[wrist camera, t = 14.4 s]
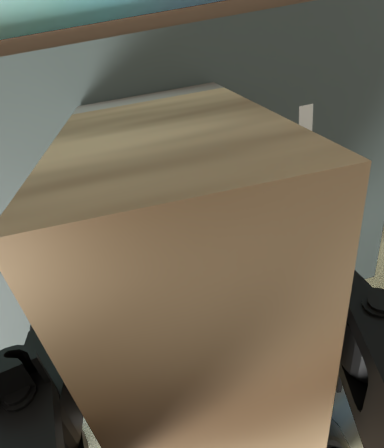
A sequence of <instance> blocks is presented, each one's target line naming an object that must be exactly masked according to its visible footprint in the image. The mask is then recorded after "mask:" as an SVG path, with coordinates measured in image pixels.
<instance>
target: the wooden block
mask: <svg viewBox="0 0 384 448" xmlns="http://www.w3.org/2000/svg"><path fill="white" fill-rule="evenodd" d="M371 162H372V161H371V160H369V159H367V158H365V157H363V156H361V155H359V154H357V153H355V152H353V151H351V150H349V149H347V148H345V147H343V146H341V145H339V144H337V143H335V142H333V141H331V140H329V139H327V138H325V137H323V136H321V135H319V134H317V133H315V132H313V131H311V130H309V129H307V128H305V127H303V126H301V125H299V124H297V123H295V122H293V121H291V120H289V119H287V118H285V117H283V116H281V115H279V114H277V113H275V112H273V111H271V110H269V109H267V108H265V107H263V106H261V105H259V104H257V103H255V102H253V101H251V100H249V99H247V98H244V97H242V96H240V95H238V94H236V93H234V92H232V91H230V90H228V89H226V88H224V87H222V86H220V85H218V84H216V83H214V82H211V83H206V84H200V85H194V86H189V87H183V88H177V89H172V90H166V91H160V92H155V93H149V94H143V95H138V96H132V97H127V98H121V99H115V100H110V101H104V102H98V103H93V104H87V105H81V106H78V107H77V108H76V109H75V111H74V112H73V114H72V115H71V117H70V118H69V119H68V121H67V122H66V124H65V125H64V126H63V128H62V129H61V131H60V132H59V134H58V135H57V136H56V138H55V139H54V141H53V142H52V143H51V145H50V146H49V148H48V149H47V151H46V152H45V153H44V155H43V156H42V158H41V159H40V160H39V162H38V163H37V165H36V166H35V168H34V169H33V170H32V172H31V173H30V175H29V176H28V177H27V179H26V180H25V182H24V183H23V185H22V186H21V187H20V189H19V190H18V192H17V193H16V194H15V196H14V197H13V199H12V200H11V201H10V203H9V204H8V206H7V207H6V209H5V210H4V211H3V213H2V214H1V216H0V272H1V274H2V275H3V277H4V279H5V281H6V282H7V284H8V286H9V288H10V289H11V291H12V293H13V294H14V296H15V298H16V300H17V301H18V303H19V305H20V307H21V308H22V310H23V312H24V314H25V315H26V317H27V319H28V321H29V322H30V324H31V326H32V328H33V329H34V331H35V333H36V335H37V336H38V338H39V340H40V342H41V343H42V345H43V347H44V349H45V350H46V352H47V354H48V356H49V357H50V359H51V361H52V362H53V364H54V366H55V368H56V369H57V371H58V373H59V375H60V376H61V378H62V380H63V382H64V383H65V385H66V387H67V389H68V390H69V392H70V394H71V396H72V397H73V399H74V401H75V403H76V404H77V406H78V408H79V410H80V411H81V413H82V415H83V417H84V418H85V420H86V422H87V423H88V425H89V427H90V429H91V430H92V432H93V434H94V436H95V437H96V439H97V441H98V443H99V444H100V446H101V448H327V442H328V435H329V429H330V423H331V416H332V410H333V404H334V397H335V391H336V385H337V378H338V372H339V365H340V359H341V353H342V346H343V340H344V334H345V327H346V321H347V315H348V308H349V302H350V296H351V289H352V283H353V276H354V270H355V264H356V257H357V251H358V245H359V238H360V232H361V226H362V219H363V213H364V206H365V200H366V194H367V187H368V181H369V175H370V168H371Z"/></svg>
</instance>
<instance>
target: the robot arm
mask: <svg viewBox="0 0 384 448" xmlns="http://www.w3.org/2000/svg"><path fill="white" fill-rule="evenodd" d="M342 385H343V388H344V391H345V394H346V396H347V399H348V402H349V405H350V408H351V411H352V414H353V417H354V420H355V423H356V426H357V429H358V432H359V435H360V438H361V441H362V444H363V447H364V448H384V289H381V288H372V287H371V286H370V285H369V284H368V283H367V282H366V281H365V280H364V278H363V277H362V276H361V275H360V274H359V273H358V272H357V271H356V270H354V276H353V283H352V289H351V296H350V302H349V308H348V315H347V321H346V327H345V334H344V340H343V346H342V353H341V359H340V365H339V372H338V378H337V385H336V390H337V392H341V390H342ZM82 423H83V415H82V413H81V411H80V410H79V408H78V406H77V404H76V403H75V401H74V399H73V397H72V396H71V394H70V392H69V390H68V389H67V387H66V385H65V383H64V382H63V380H62V378H61V376H60V375H59V373H58V371H57V369H56V368H55V366H54V364H53V362H52V361H51V359H50V357H49V356H48V354H47V352H46V350H45V349H44V347H43V345H42V343H41V342H40V340H39V338H38V336H37V335H36V333H35V331H34V329H33V328H32V326H31V325H30V331H28V334H27V337H26V340H25V343H24V345H14V346H10V347H7V348H4V349H2V350H0V448H88V441H87V439H86V436H85V434H84V432H83V430H82ZM327 448H350V446H349V444H348V443H347V441H346V439H345V437H344V435H343V433H342V432H341V430H340V428H339V426H338V425H337V424H336V423H335V422H334V421H333V420H332V419H331V423H330V429H329V435H328V442H327Z"/></svg>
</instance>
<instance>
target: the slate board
mask: <svg viewBox="0 0 384 448" xmlns="http://www.w3.org/2000/svg"><path fill="white" fill-rule="evenodd" d="M211 82H214V83H216V84H218V85H220V86H222V87H224V88H226V89H228V90H230V91H232V92H234V93H236V94H238V95H240V96H242V97H244V98H247V99H249V100H251V101H253V102H255V103H257V104H259V105H261V106H263V107H265V108H267V109H269V110H271V111H273V112H275V113H277V114H279V115H281V116H283V117H285V118H287V119H289V120H291V121H293V122H295V123H297V124H299V125H301V126H303V127H305V128H307V129H309V130H311V131H313V132H315V133H317V134H319V135H321V136H323V137H325V138H327V139H329V140H331V141H333V142H335V143H337V144H339V145H341V146H343V147H345V148H347V149H349V150H351V151H353V152H355V153H357V154H359V155H361V156H363V157H365V158H367V159H369V160H371V161H372V162H371V168H370V175H369V181H368V187H367V194H366V200H365V206H364V213H363V219H362V226H361V232H360V238H359V245H358V251H357V257H356V264H355V270H356V271H357V272H358V273H359V274H360V275H361V276H362V277H363V278H364V279H367V278H371V277H374V276H375V270H376V265H377V259H378V253H379V248H380V242H381V237H382V231H383V226H384V0H225V1H220V2H214V3H208V4H202V5H197V6H191V7H185V8H180V9H174V10H168V11H163V12H157V13H151V14H145V15H140V16H134V17H128V18H123V19H117V20H111V21H106V22H100V23H94V24H88V25H83V26H77V27H71V28H66V29H60V30H54V31H49V32H43V33H37V34H31V35H26V36H20V37H14V38H9V39H3V40H0V216H1V214H2V213H3V211H4V210H5V209H6V207H7V206H8V204H9V203H10V201H11V200H12V199H13V197H14V196H15V194H16V193H17V192H18V190H19V189H20V187H21V186H22V185H23V183H24V182H25V180H26V179H27V177H28V176H29V175H30V173H31V172H32V170H33V169H34V168H35V166H36V165H37V163H38V162H39V160H40V159H41V158H42V156H43V155H44V153H45V152H46V151H47V149H48V148H49V146H50V145H51V143H52V142H53V141H54V139H55V138H56V136H57V135H58V134H59V132H60V131H61V129H62V128H63V126H64V125H65V124H66V122H67V121H68V119H69V118H70V117H71V115H72V114H73V112H74V111H75V109H76V108H77V107H78V106H81V105H87V104H93V103H98V102H104V101H110V100H115V99H121V98H127V97H132V96H138V95H143V94H149V93H155V92H160V91H166V90H172V89H177V88H183V87H189V86H194V85H200V84H206V83H211ZM30 325H31V324H30V322H29V321H28V319H27V317H26V315H25V314H24V312H23V310H22V308H21V307H20V305H19V303H18V301H17V300H16V298H15V296H14V294H13V293H12V291H11V289H10V288H9V286H8V284H7V282H6V281H5V279H4V277H3V275H2V274H1V272H0V350H2V349H4V348H7V347H10V346H14V345H24V343H25V340H26V337H27V334H28V331H30Z"/></svg>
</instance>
